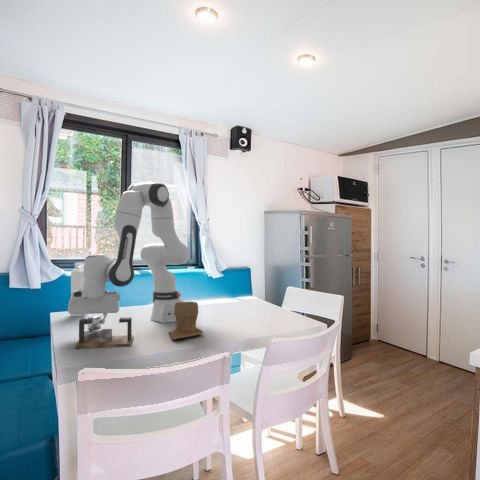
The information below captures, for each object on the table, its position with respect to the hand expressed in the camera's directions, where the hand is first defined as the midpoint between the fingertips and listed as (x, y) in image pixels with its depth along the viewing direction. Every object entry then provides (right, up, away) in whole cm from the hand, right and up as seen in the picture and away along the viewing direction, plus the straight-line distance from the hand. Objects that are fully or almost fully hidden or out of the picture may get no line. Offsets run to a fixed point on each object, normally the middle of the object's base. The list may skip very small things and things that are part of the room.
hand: (94, 323), depth 141 cm
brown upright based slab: (+39, -6, 0) cm, 39 cm away
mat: (0, -5, 0) cm, 5 cm away
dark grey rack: (+9, -5, -10) cm, 14 cm away
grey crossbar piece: (0, -2, 0) cm, 2 cm away
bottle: (-24, -4, +35) cm, 43 cm away
